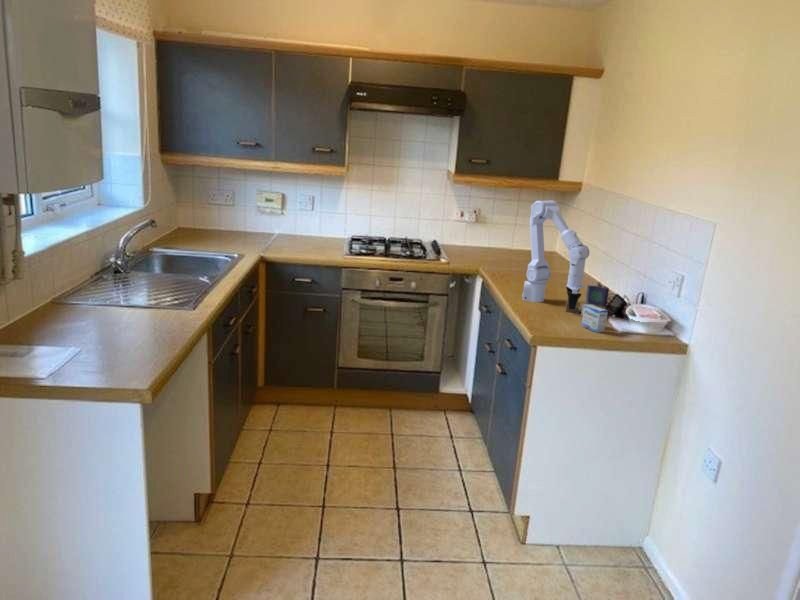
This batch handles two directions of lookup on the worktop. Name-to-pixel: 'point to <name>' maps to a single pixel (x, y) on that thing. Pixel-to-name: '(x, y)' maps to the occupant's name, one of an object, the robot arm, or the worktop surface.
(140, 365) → the worktop surface
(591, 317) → the medicine box
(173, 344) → the worktop surface
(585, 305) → the ball
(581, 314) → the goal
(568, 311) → the kicker
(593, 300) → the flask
